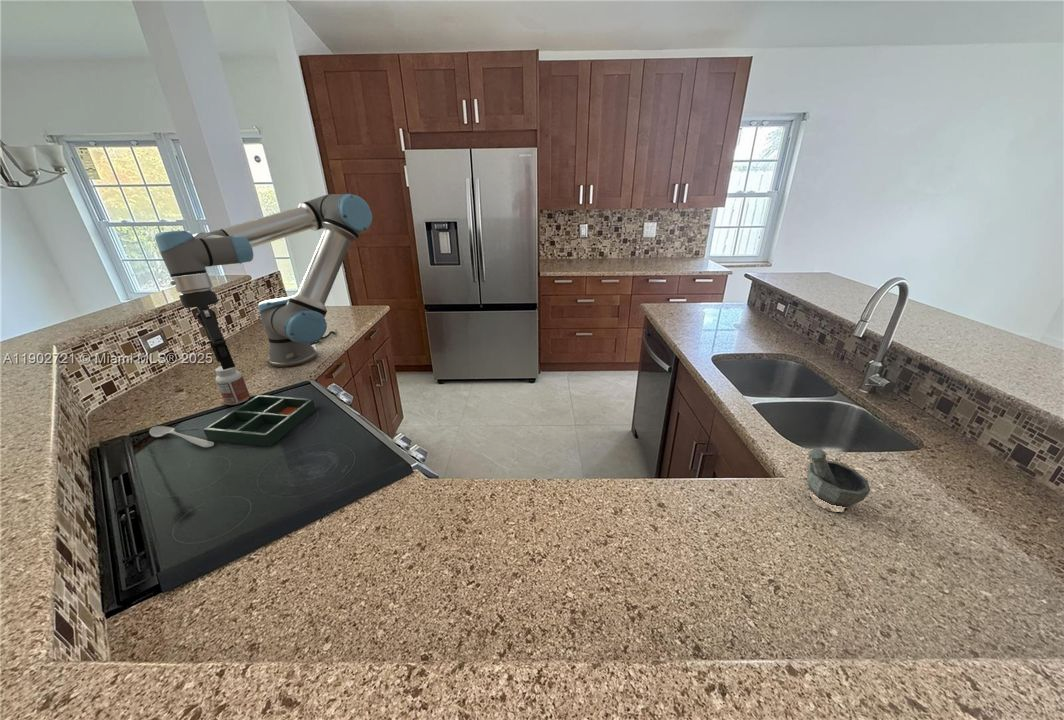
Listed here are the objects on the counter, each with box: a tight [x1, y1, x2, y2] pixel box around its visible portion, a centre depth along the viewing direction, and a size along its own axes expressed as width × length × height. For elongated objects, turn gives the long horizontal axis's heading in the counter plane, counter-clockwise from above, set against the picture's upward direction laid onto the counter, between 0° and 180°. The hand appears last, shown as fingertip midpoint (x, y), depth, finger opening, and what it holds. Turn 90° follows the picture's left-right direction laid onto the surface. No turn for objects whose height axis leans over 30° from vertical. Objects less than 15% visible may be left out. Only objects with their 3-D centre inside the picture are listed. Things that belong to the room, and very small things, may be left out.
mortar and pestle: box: [806, 448, 871, 508], centre depth 74 cm, size 11×9×12 cm
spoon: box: [148, 425, 215, 449], centre depth 94 cm, size 4×21×2 cm, turn 74°
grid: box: [202, 394, 317, 448], centre depth 100 cm, size 17×17×4 cm
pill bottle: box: [214, 365, 251, 406], centre depth 109 cm, size 6×6×11 cm
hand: (226, 364), depth 107 cm, fingers open, 13 cm apart
